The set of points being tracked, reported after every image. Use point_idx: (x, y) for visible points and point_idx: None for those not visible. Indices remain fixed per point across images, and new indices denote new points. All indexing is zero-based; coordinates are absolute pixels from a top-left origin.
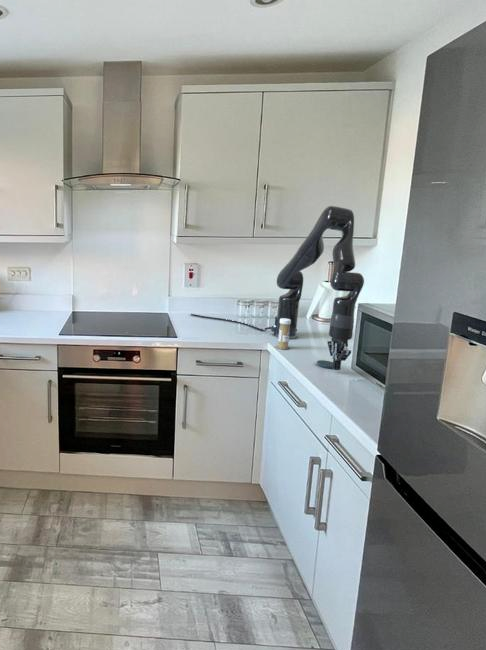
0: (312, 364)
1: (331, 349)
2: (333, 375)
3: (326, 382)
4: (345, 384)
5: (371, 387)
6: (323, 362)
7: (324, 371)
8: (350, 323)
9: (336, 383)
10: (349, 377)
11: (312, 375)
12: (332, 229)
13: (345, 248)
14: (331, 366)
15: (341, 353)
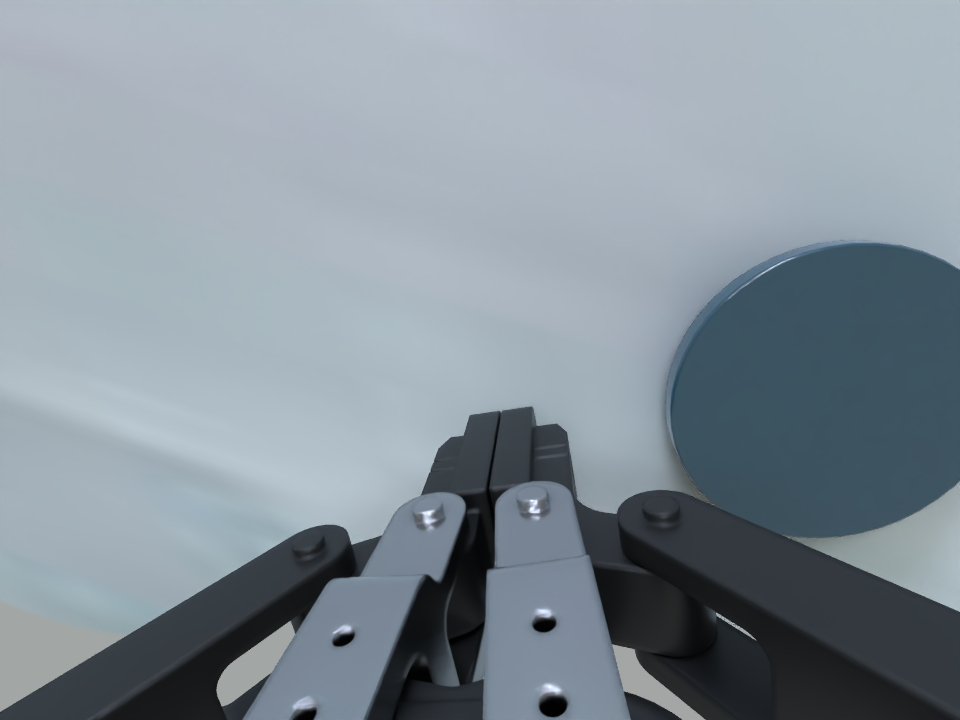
0: (876, 167)
1: (752, 626)
2: (373, 352)
3: (21, 159)
4: (76, 390)
5: (124, 619)
6: (869, 361)
7: (520, 274)
8: None
9: (54, 289)
10: (368, 525)
11: (242, 6)
12: None
13: None
14: (672, 428)
15: (70, 713)
